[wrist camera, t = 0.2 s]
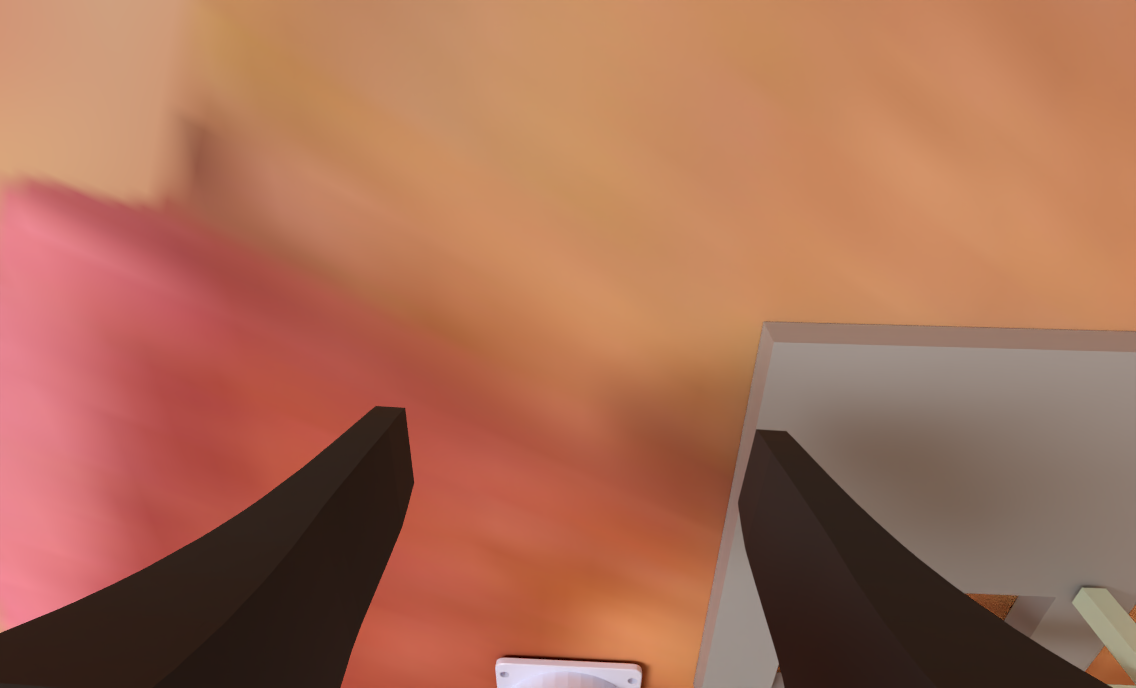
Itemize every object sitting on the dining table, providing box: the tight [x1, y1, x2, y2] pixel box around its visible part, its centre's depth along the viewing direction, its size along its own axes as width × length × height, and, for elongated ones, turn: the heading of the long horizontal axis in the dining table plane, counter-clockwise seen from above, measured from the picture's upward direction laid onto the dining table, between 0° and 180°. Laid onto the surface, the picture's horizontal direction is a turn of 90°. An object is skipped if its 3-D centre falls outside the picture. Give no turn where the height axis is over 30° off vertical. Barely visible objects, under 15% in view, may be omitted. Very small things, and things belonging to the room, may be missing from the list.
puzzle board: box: [694, 322, 1136, 688], centre depth 27 cm, size 23×18×2 cm
